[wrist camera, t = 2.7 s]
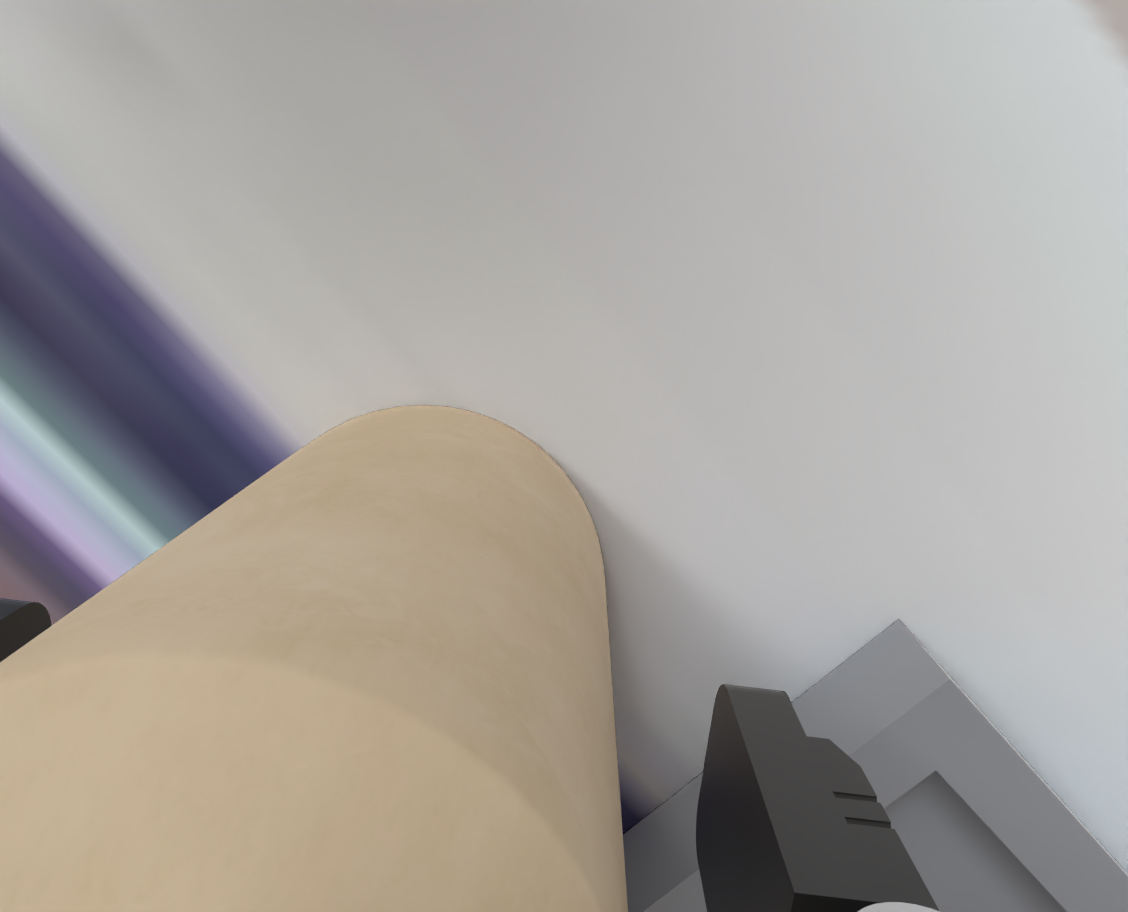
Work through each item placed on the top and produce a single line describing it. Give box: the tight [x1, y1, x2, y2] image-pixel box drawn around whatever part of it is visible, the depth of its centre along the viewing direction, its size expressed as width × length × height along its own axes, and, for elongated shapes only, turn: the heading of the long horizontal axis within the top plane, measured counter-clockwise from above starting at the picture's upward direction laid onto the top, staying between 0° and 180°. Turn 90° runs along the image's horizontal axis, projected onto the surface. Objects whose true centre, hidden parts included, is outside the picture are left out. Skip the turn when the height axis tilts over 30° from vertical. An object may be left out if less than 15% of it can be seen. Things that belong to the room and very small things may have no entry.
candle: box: [0, 405, 628, 912], centre depth 9 cm, size 6×6×10 cm
